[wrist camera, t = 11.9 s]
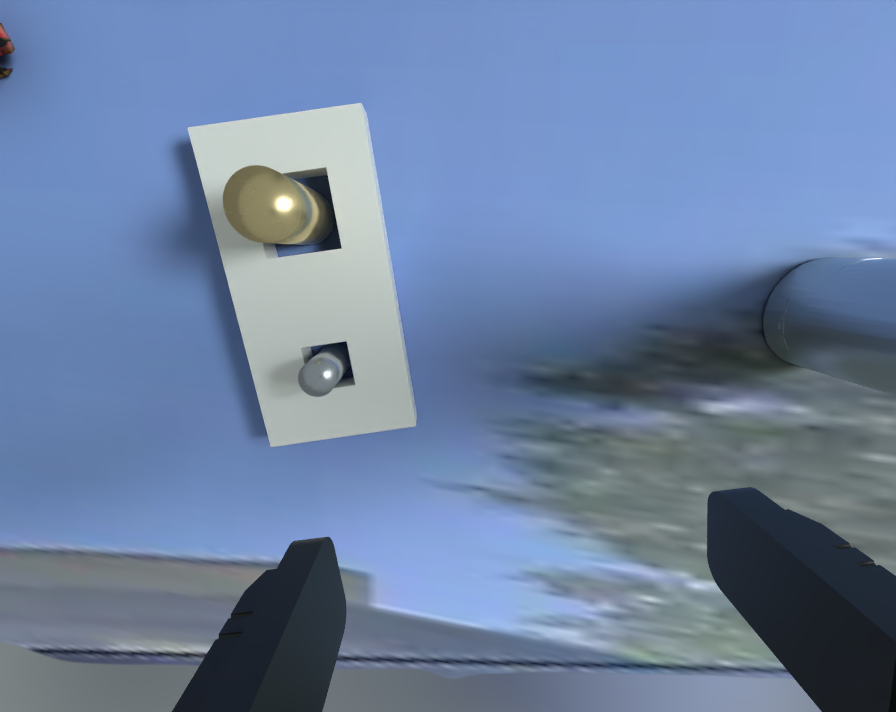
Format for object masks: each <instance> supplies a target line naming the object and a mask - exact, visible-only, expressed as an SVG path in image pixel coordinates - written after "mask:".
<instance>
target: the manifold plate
mask: <svg viewBox="0 0 896 712" xmlns="http://www.w3.org/2000/svg"><path fill="white" fill-rule="evenodd" d="M188 131H189V135H190V139H191V143H192V147H193V151H194V154H195V158H196V162H197V166H198V170H199V174H200V177H201V181H202V185H203V189H204V193H205V197H206V200H207V204H208V208H209V212H210V216H211V220H212V223H213V227H214V231H215V235H216V239H217V243H218V246H219V250H220V254H221V258H222V262H223V266H224V269H225V273H226V277H227V281H228V285H229V289H230V292H231V296H232V300H233V304H234V308H235V312H236V315H237V319H238V323H239V327H240V331H241V335H242V338H243V342H244V346H245V350H246V354H247V358H248V361H249V365H250V369H251V373H252V377H253V381H254V384H255V388H256V392H257V396H258V400H259V404H260V407H261V411H262V415H263V419H264V423H265V427H266V430H267V434H268V438H269V442H270V446H271V447H276V446H283V445H289V444H296V443H303V442H310V441H317V440H324V439H331V438H338V437H345V436H352V435H359V434H366V433H373V432H380V431H386V430H393V429H400V428H407V427H414V426H416V421H417V412H416V406H415V400H414V394H413V388H412V382H411V376H410V370H409V364H408V358H407V352H406V346H405V340H404V334H403V328H402V322H401V316H400V310H399V304H398V298H397V292H396V286H395V280H394V274H393V268H392V262H391V256H390V250H389V244H388V238H387V232H386V226H385V220H384V214H383V208H382V202H381V196H380V191H379V185H378V179H377V173H376V167H375V161H374V155H373V149H372V143H371V137H370V131H369V125H368V119H367V114H366V112H365V110H364V108H363V105H362V103H357V104H350V105H343V106H336V107H329V108H322V109H315V110H308V111H301V112H294V113H287V114H280V115H273V116H266V117H259V118H252V119H245V120H238V121H231V122H224V123H217V124H210V125H203V126H196V127H189V128H188ZM251 165H261V166H266V167H269V168H272V169H274V170H276V171H278V172H279V173H281V174H283V175H285V176H287V177H289V178H291V179H293V180H295V179H302V178H309V177H316V176H323V175H328V179H329V185H330V190H331V195H332V200H333V205H334V211H335V216H336V221H337V226H338V231H339V236H340V242H341V247H342V248H341V249H334V250H327V251H320V252H313V253H306V254H299V255H292V256H285V257H278V254H277V250H276V245H275V243H259V242H254V241H251V240H249V239H247V238H245V237H243V236H242V235H240V234H239V233H238V232H237V231H236V230H235V229H234V228H233V227H232V226H231V224H230V223H229V221H228V219H227V217H226V215H225V212H224V208H223V192H224V188H225V185H226V183H227V181H228V180H229V178H230V177H231V176H232V175H233V174H234V173H235V172H236V171H238V170H240V169H241V168H244V167H246V166H251ZM345 341H347V345H348V350H349V355H350V360H351V365H352V370H353V375H354V377H352V378H345V379H340V380H339V381H338V383H337V384H336V385H335V387H334V388H333V389H332V391H331V392H330V393H329V394H327V395H325V396H322V397H314V396H310V395H308V394H306V393H305V392H304V391H303V390H302V389H301V387H300V385H299V383H298V374H299V371H300V369H301V368H302V367H303V366H304V365H305V364H306V363H307V362H309V361H310V360H311V359H312V358H313V353H312V349H311V346H317V345H324V344H331V343H338V342H345Z"/></svg>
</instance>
